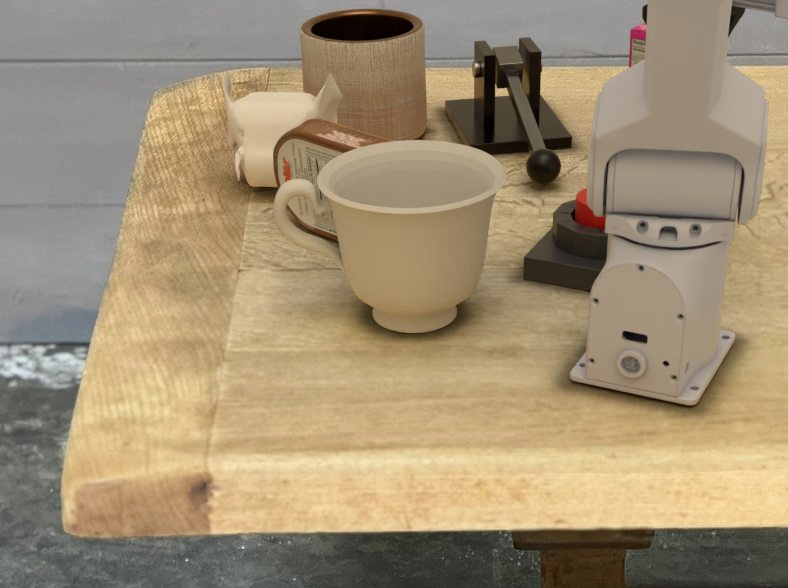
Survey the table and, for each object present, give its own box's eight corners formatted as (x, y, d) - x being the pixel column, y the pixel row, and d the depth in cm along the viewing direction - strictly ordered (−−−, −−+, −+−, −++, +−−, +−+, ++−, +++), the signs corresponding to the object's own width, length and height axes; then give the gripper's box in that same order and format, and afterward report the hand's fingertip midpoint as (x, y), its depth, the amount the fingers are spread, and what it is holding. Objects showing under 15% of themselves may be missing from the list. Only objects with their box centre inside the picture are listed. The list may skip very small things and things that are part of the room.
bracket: (571, 147, 114) (576, 62, 110) (469, 156, 113) (469, 70, 109) (539, 103, 124) (542, 23, 120) (444, 110, 123) (444, 30, 119)
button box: (631, 299, 90) (635, 251, 88) (522, 279, 93) (524, 232, 91) (674, 243, 98) (679, 198, 96) (572, 226, 101) (574, 182, 99)
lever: (562, 190, 107) (566, 160, 105) (528, 192, 106) (531, 163, 104) (518, 71, 118) (520, 42, 116) (487, 73, 117) (489, 45, 115)
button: (621, 235, 92) (622, 211, 91) (566, 226, 93) (567, 202, 92) (639, 214, 94) (641, 190, 93) (586, 205, 96) (587, 182, 95)
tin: (444, 261, 96) (443, 149, 91) (415, 276, 94) (413, 162, 90) (299, 210, 105) (291, 105, 100) (270, 223, 103) (261, 116, 98)
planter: (301, 157, 114) (293, 44, 109) (310, 115, 123) (303, 9, 118) (426, 155, 114) (425, 41, 108) (427, 112, 123) (425, 6, 117)
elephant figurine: (208, 210, 105) (195, 99, 100) (244, 156, 115) (234, 52, 110) (326, 213, 104) (319, 101, 99) (352, 158, 114) (347, 54, 109)
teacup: (284, 282, 94) (272, 145, 88) (492, 271, 95) (494, 134, 89) (282, 364, 84) (268, 217, 79) (514, 352, 85) (518, 204, 79)
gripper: (842, -105, 82) (809, 113, 89) (642, -128, 90) (627, 73, 97) (786, -84, 77) (757, 142, 85) (581, -110, 85) (571, 99, 93)
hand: (684, 108), depth 91 cm, fingers closed
